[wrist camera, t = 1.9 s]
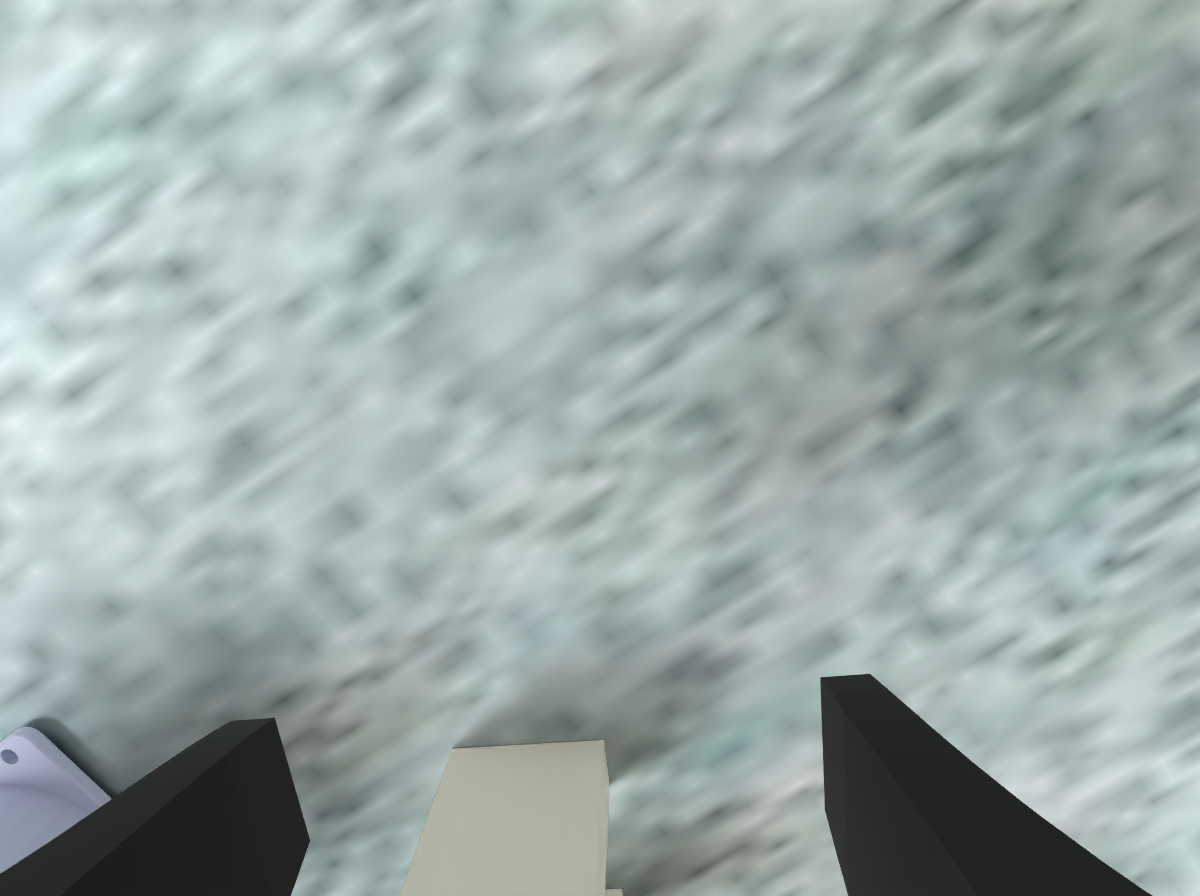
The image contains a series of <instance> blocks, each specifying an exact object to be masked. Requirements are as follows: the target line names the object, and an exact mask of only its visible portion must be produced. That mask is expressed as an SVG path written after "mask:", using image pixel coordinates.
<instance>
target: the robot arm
mask: <svg viewBox="0 0 1200 896" xmlns="http://www.w3.org/2000/svg"><path fill="white" fill-rule="evenodd" d="M820 681H821V709H822V737H823V765H824V793H825V811H826V815H827V819H828V823H829V827H830V830H831V834H832V838H833V842H834V845H835V849H836V853H837V857H838V860H839V864H840V867H841V871H842V874H843V878H844V882H845V885H846V889H847V892H848V896H1152V895H1150V894H1149V893H1147V892H1146V891H1144V890H1143V889H1141V888H1140V887H1138V886H1137V885H1135V884H1134V883H1133V882H1131V881H1130V880H1128V879H1127V878H1125V877H1124V876H1122V875H1121V874H1120V873H1118V872H1117V871H1115V870H1114V869H1112V868H1111V867H1109V866H1108V865H1107V864H1105V863H1104V862H1102V861H1101V860H1100V859H1098V858H1097V857H1095V856H1094V855H1093V854H1091V853H1090V852H1089V851H1087V850H1086V849H1085V848H1083V847H1082V846H1080V845H1079V844H1078V843H1076V842H1075V841H1074V840H1072V839H1071V838H1070V837H1068V836H1067V835H1065V834H1064V833H1063V832H1061V831H1060V830H1059V829H1057V828H1056V827H1055V826H1053V825H1052V824H1050V823H1049V822H1048V821H1046V820H1045V819H1044V818H1042V817H1041V816H1040V815H1038V814H1037V813H1036V812H1034V811H1033V810H1032V809H1031V808H1029V807H1028V806H1027V805H1025V804H1024V803H1023V802H1022V801H1020V800H1019V799H1018V798H1016V797H1015V796H1014V795H1013V794H1011V793H1010V792H1009V791H1008V790H1006V789H1005V788H1004V787H1003V786H1001V785H1000V784H999V783H998V782H997V781H995V780H994V779H993V778H992V777H990V776H989V775H988V774H987V773H985V772H984V771H983V770H982V769H980V768H979V767H978V766H977V765H976V764H974V763H973V762H972V761H971V760H969V759H968V758H967V757H966V756H965V755H963V754H962V753H961V752H960V751H959V750H957V749H956V748H955V747H954V746H953V745H952V744H950V743H949V742H948V741H947V740H946V739H945V738H943V737H942V736H941V735H940V734H939V733H938V732H936V731H935V730H934V729H933V728H932V727H931V726H929V725H928V724H927V723H926V722H925V721H924V720H923V719H921V718H920V717H919V716H918V715H917V714H916V713H914V712H913V711H912V710H911V709H910V708H909V707H908V706H906V705H905V704H904V703H903V702H902V701H901V700H900V699H898V698H897V697H896V696H895V695H894V694H893V693H892V692H890V691H889V690H888V689H887V688H886V687H885V686H883V685H882V684H881V683H880V682H879V681H878V680H876V679H875V678H874V677H873V676H872V675H871V674H861V675H848V676H834V677H821V678H820ZM309 842H310V839H309V835H308V832H307V828H306V825H305V821H304V818H303V814H302V811H301V808H300V804H299V801H298V797H297V794H296V790H295V787H294V783H293V780H292V776H291V773H290V769H289V766H288V763H287V759H286V756H285V752H284V749H283V745H282V742H281V738H280V735H279V731H278V728H277V725H276V721H275V718H266V719H253V720H239V721H231V722H229V723H227V724H226V725H224V726H222V727H220V728H219V729H217V730H215V731H213V732H212V733H210V734H208V735H207V736H205V737H204V738H202V739H200V740H199V741H197V742H196V743H194V744H193V745H191V746H190V747H188V748H187V749H185V750H184V751H182V752H181V753H179V754H177V755H176V756H174V757H173V758H171V759H170V760H169V761H167V762H166V763H164V764H163V765H161V766H160V767H158V768H157V769H155V770H154V771H152V772H151V773H149V774H148V775H146V776H145V777H143V778H142V779H141V780H139V781H138V782H136V783H135V784H133V785H132V786H130V787H129V788H127V789H126V790H124V791H123V792H122V793H120V794H119V795H117V796H116V797H114V798H113V799H112V798H111V797H110V796H109V795H107V794H106V793H105V792H104V791H103V790H102V789H101V788H100V787H99V786H98V785H97V784H96V783H95V782H94V781H93V780H91V779H90V778H89V777H88V776H87V775H86V774H85V773H84V772H83V771H82V770H81V769H80V768H79V767H78V766H77V765H75V764H74V763H73V762H72V761H71V760H70V759H69V758H68V757H67V756H66V755H65V754H64V753H63V752H62V751H61V750H59V749H58V748H57V747H56V746H55V745H54V744H53V743H52V742H51V741H50V740H49V739H48V738H47V737H46V736H45V735H43V734H42V733H41V732H40V731H38V730H37V729H35V728H32V727H21V728H19V729H17V730H15V731H14V732H13V733H11V734H10V735H9V736H7V737H6V738H5V739H3V740H2V741H0V896H291V893H292V890H293V888H294V885H295V882H296V880H297V877H298V874H299V871H300V868H301V865H302V862H303V860H304V857H305V854H306V851H307V848H308V845H309Z"/></svg>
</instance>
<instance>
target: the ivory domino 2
mask: <svg viewBox="0 0 1200 896" xmlns="http://www.w3.org/2000/svg"><path fill="white" fill-rule="evenodd" d="M605 896H623V890H622V889H605Z"/></svg>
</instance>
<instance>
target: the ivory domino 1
mask: <svg viewBox="0 0 1200 896" xmlns="http://www.w3.org/2000/svg"><path fill="white" fill-rule="evenodd" d="M609 791H610V784H609V775H608V767H607V759H606V751H605V742H604V740H594V741H576V742H559V743H541V744H523V745H506V746H488V747H470V748H453V749H452V750H451V753H450V756H449V759H448V761H447V764H446V767H445V770H444V772H443V775H442V778H441V781H440V784H439V786H438V789H437V792H436V795H435V798H434V800H433V803H432V806H431V809H430V812H429V814H428V817H427V820H426V823H425V825H424V828H423V831H422V834H421V837H420V839H419V842H418V845H417V848H416V851H415V853H414V856H413V859H412V862H411V865H410V867H409V870H408V873H407V876H406V878H405V881H404V884H403V887H402V890H401V892H400V895H399V896H605V883H606V860H607V837H608V814H609Z"/></svg>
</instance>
